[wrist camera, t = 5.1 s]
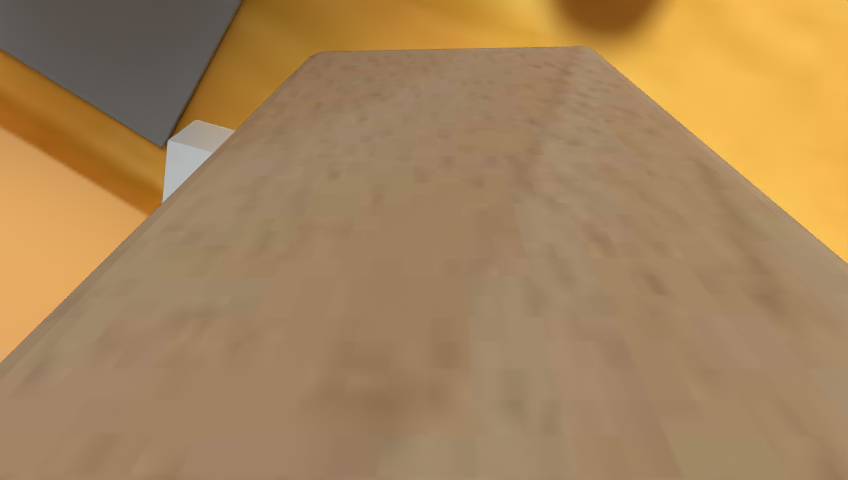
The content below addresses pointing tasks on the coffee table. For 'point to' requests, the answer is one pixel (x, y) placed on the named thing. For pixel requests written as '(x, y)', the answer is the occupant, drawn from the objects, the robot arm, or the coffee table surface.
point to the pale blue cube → (191, 151)
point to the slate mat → (120, 52)
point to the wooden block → (447, 297)
